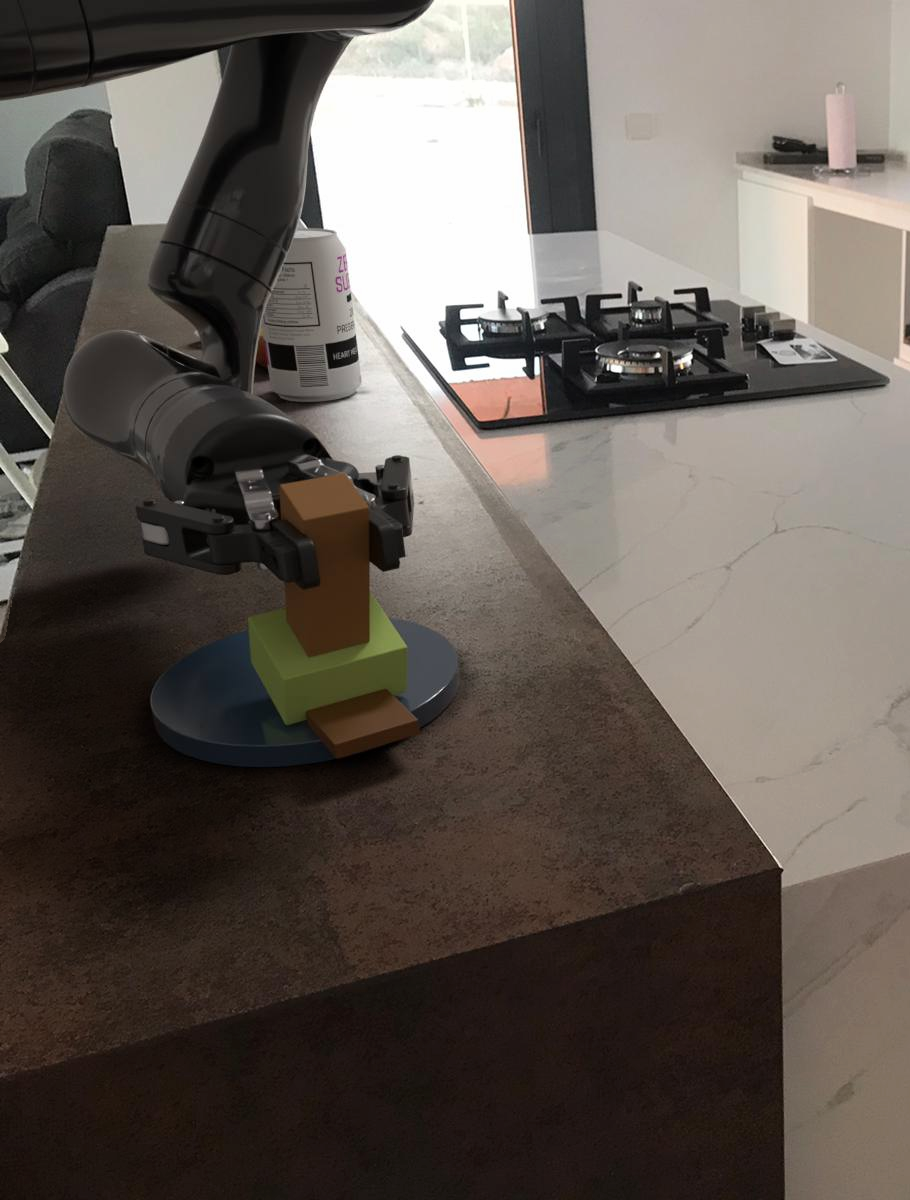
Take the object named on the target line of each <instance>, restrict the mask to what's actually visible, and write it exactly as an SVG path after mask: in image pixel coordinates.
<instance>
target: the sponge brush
mask: <svg viewBox="0 0 910 1200" xmlns="http://www.w3.org/2000/svg"><path fill="white" fill-rule="evenodd" d="M280 505H281V520H287V521H289V522H290V523H291V524H292V525H293V526H295V527H296V528H297V529H298V530H299V531H300V532H302V533H303V534H305V535H306V536H308V537H309V538H310V539H311V540H312V541H313V543H314V546H315V549H316V554H317V561H318V568H319V574H320V586H319V587H314V588H310V589H306V590H302V589H301V588H300V587H299V586H298V585H297V584H296V583H295V582H290V583H287V582H284V581H283V582H284V599H285V600H284V602H285V607H283V608H279V609H274V610H270V611H266V612H262V613H261V612H260V613H257V614H254V615H249V616H248V617H247V625H248V629H249V640H250V653H251V663H252V665H253V666H254V668H255V670H256V672H257V674H258V675H259V677H260V679H261V681H262V683H263V685H264V686H265V688H266V690H267V692H268V694H269V695H270V697H271V699H272V701H273V703H274V704H275V706H276V708H277V710H278V712H279V713H280V715H281V717H282V719H283V721H284V723H285V724H286V725H290V724H294V723H297V722H301V721H304V720H307V718H306V711H308V710H312V709H315V708H319V707H322V706H326V705H330V704H333V703H337V702H340V701H344V700H347V699H351V698H355V697H358V696H362V695H365V694H369V693H372V692H376V691H380V690H383V689H387V690H388V691H389V692H390V693H391V694H392V695H396V694H400V693H403V692H406V691H407V651H408V647H407V646H406V644H405V643H404V641H403V640H402V638H401V637H400V635H399V634H398V632H397V631H396V629H395V628H394V626H393V625H392V623H391V622H390V620H389V619H388V617H389V616H387V614H386V613H385V611H384V610H383V609H382V607H381V606H380V604H379V603H378V601H377V599H376V598H375V596H374V594H372V592H371V591H370V590H371V589H370V587H371V585H370V583H371V582H370V581H371V579H370V578H371V577H370V575H371V574H370V572H371V571H370V569H371V567H370V566H371V565H370V564H371V562H370V561H369V520H370V508H369V506H368V505H367V504H366V502H365V501H364V499H363V498H362V497H361V495H360V494H359V492H358V491H357V490H356V488H355V487H354V485H353V484H352V483H351V481H350V480H349V479H348V477H347V476H346V474H344V473H343V474H337V475H332V476H326V477H321V478H315V479H309V480H304V481H298V482H292V483H287V484H281V485H280Z"/></svg>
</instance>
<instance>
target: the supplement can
mask: <svg viewBox="0 0 910 1200" xmlns="http://www.w3.org/2000/svg"><path fill="white" fill-rule="evenodd" d="M337 234H338V233H337V231H336V230H333V229H328V228H316V227H315V228H311V227H307V228H306V227H302V228H301V227H299V228H298V227H297V230H296V233H295V236H294V239H293V242H292V244H291V247H290V249H289V252H288V255H287V257H286V259H285V261H284V264H283V266H282V269H281V271H280V274H279V276H278V278H277V281H276V283H275V286H274V288H273V291H272V292H271V296H270V298H269V301H268V303H267V306H266V309H265V312H264V315H263V320H262V331H263V338H264V344H265V351H266V358H267V364H268V369H267V370H268V377H269V383H270V389H271V390H272V391H273V393H274V394H277V395H278V396H279V398H280V399H283V400H285V401H289V402H298V403H318V402H319V403H320V402H328V401H329V402H330V401H336V400H340V399H344V398H347V397H350V396H352V395H354V394H355V393H356V392H357V389H358V388H360V387H361V385H362V383H363V382H362V380H363V379H362V374H361V372H362V371H361V366H360V364H361V363H360V356H359V349H358V341H357V332H356V324H355V315H354V309H353V308H354V307H353V300H352V291H351V283H350V275H349V266H348V257H347V249H346V247H345V246H344V244H343V242H342V241H341V240H340V238H339V237H338V235H337Z"/></svg>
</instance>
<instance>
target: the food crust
mask: <svg viewBox="0 0 910 1200" xmlns="http://www.w3.org/2000/svg"><path fill="white" fill-rule="evenodd" d="M306 718H307V724H308V726H309V727H310V728H311V729H312V731H313V732H314V733H315V734H316V735H317V737H318V738H319V739H320V740H321V741H322V742H323V744H324V745H325V746H326V747H327V748H328V749H329V751H330V752H331V753H332V754H333V755H334V756H335V758H336V759H335V760H339V759H343V758H342V757H344V758H347V757H350V756H349V755H351V756H353V755H352V754H355V755H357V754H356V753H359V752H362V751H365V750H369V749H372V748H375V747H377V748H380V747H383V746H386V745H389V744H391V743H394V742H398V741H402V740H405V739H407V738H412V737H414V736H418V735H420V731H421V730H420V728H419V723H418V719H417V718H416V717H415V716H414V715H413V714H412V713H411V712H410V711H409V710H408V709H407V708H406V707H405V706H404V705H402V704H401V703H400V702H399V701H398V700H397V699H396V698H395V697H394V696H393V695H392V694H391V693H390V692H389V691H388V690H387V689H383V690H380V691H376V692H372V693H369V694H365V695H362V696H358V697H355V698H351V699H347V700H344V701H340V702H337V703H333V704H330V705H326V706H322V707H319V708H315V709H312V710H308V711H306ZM385 744H386V745H385ZM382 745H383V746H382ZM379 746H380V747H379ZM375 749H376V748H375ZM372 750H373V749H372ZM369 751H370V750H369ZM362 753H363V752H362ZM359 754H360V753H359ZM346 756H347V757H346Z"/></svg>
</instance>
